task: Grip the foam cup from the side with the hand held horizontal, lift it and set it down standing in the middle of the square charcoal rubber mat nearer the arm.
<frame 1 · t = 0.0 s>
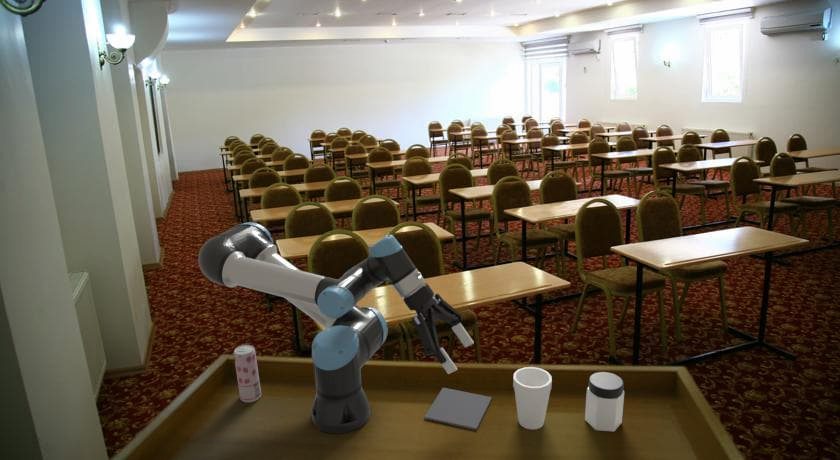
hand: (461, 357, 156), 15 cm above the table, tool tilted 35°, fingers open, 13 cm apart
beverage can: (251, 397, 169), on the table
foam cup: (531, 422, 155), on the table
jar: (603, 422, 154), on the table
charcoal mat: (458, 408, 161), on the table
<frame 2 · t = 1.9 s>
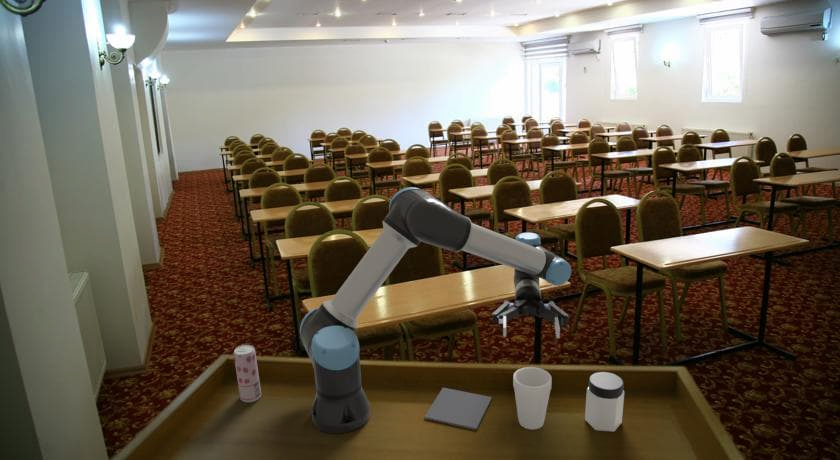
hand: (531, 332, 157), 20 cm above the table, tool horizontal, fingers open, 13 cm apart
nothing on the table moved.
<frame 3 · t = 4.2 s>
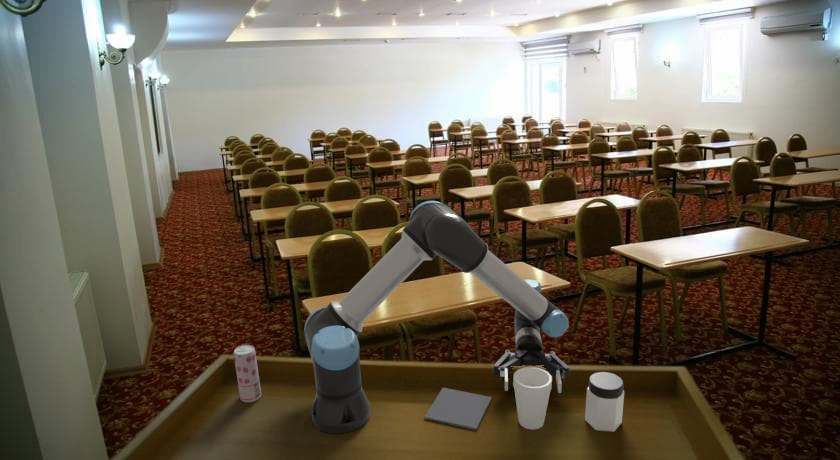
hand: (533, 387, 157), 7 cm above the table, tool horizontal, fingers open, 13 cm apart
nothing on the table moved.
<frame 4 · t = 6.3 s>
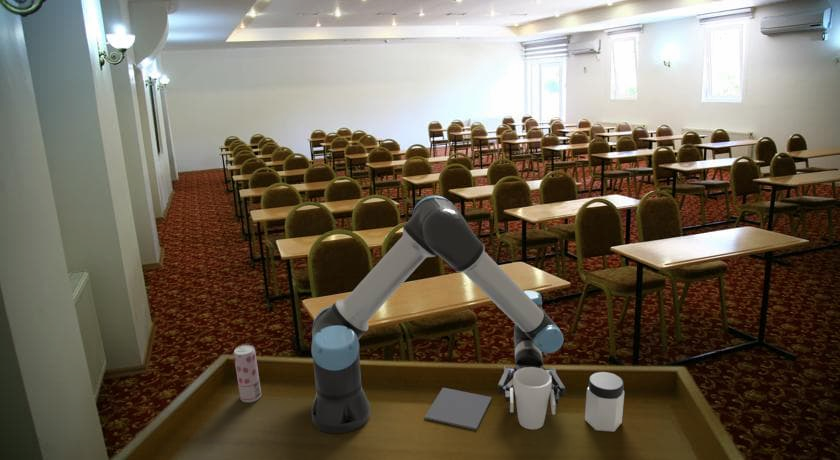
hand: (532, 408, 148), 7 cm above the table, tool horizontal, fingers closed on foam cup, 9 cm apart
foam cup: (531, 422, 155), on the table, touching gripper
everything else where it was.
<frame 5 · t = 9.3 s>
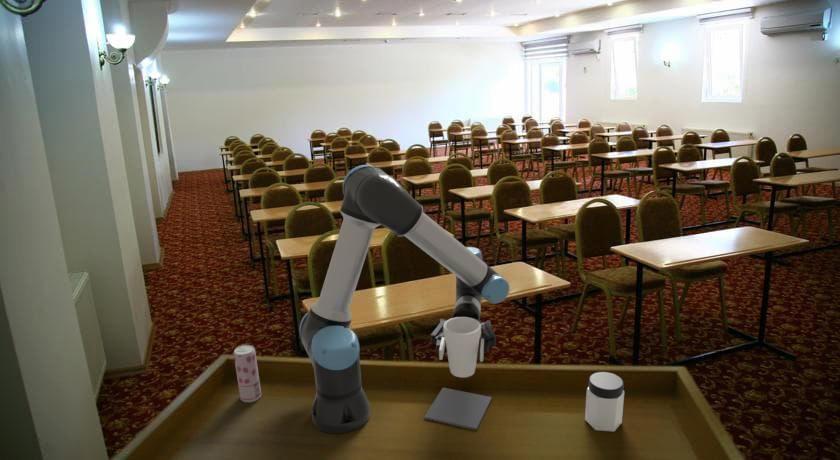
hand: (461, 355, 150), 19 cm above the table, tool horizontal, fingers closed on foam cup, 9 cm apart
foam cup: (462, 371, 157), point 12 cm above the table, touching gripper
everything else where it was.
when the fingers open (9 cm above the table, at t = 12.4 s): foam cup drops 1 cm, resting on charcoal mat.
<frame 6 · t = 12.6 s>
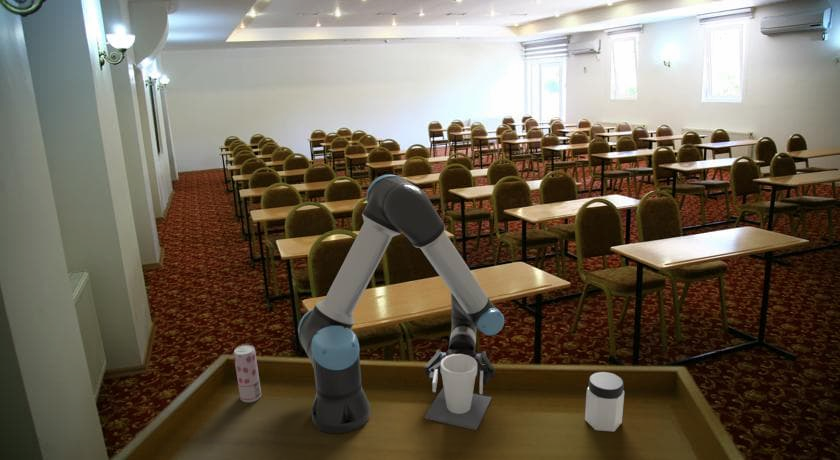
hand: (457, 388, 154), 9 cm above the table, tool horizontal, fingers open, 11 cm apart
foam cup: (458, 407, 161), resting on charcoal mat
everything else where it was.
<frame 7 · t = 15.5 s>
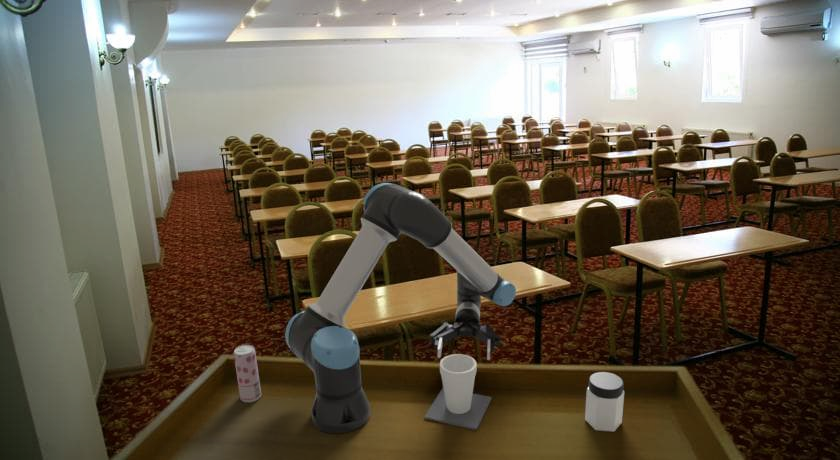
hand: (463, 354, 167), 10 cm above the table, tool horizontal, fingers open, 13 cm apart
nothing on the table moved.
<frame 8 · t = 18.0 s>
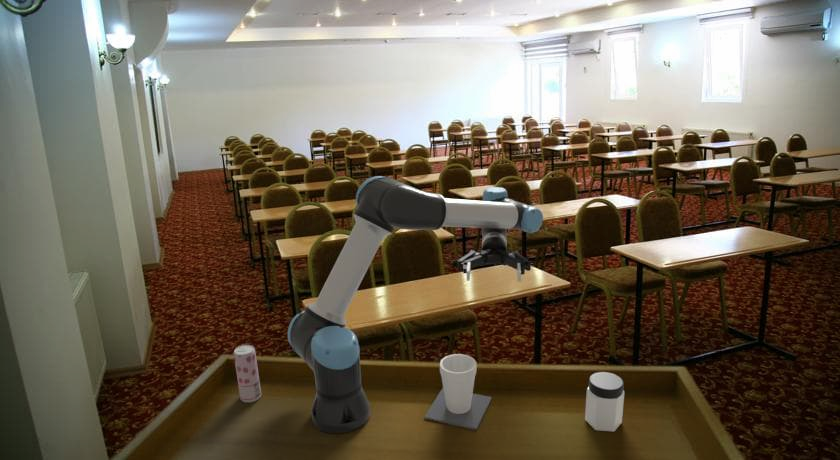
hand: (493, 276, 162), 32 cm above the table, tool horizontal, fingers open, 13 cm apart
nothing on the table moved.
at the end: foam cup inside the target area on the charcoal mat (0.1 cm from its centre), point 0.4 cm above the charcoal mat's base; foam cup tilted 0°; the gripper is holding nothing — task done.
